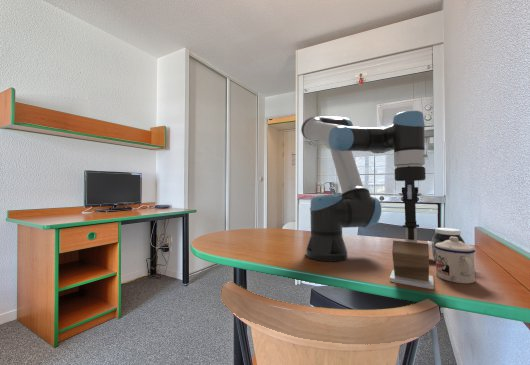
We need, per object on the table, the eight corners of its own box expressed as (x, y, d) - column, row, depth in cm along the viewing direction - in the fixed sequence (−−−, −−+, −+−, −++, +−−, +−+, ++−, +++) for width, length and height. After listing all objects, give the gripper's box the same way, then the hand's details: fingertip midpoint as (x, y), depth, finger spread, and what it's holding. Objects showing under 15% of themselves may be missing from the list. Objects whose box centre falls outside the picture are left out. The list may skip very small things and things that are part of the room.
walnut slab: (428, 281, 64) (429, 256, 59) (394, 275, 68) (392, 251, 64) (428, 268, 67) (428, 243, 62) (395, 264, 71) (393, 240, 66)
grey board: (389, 281, 67) (389, 277, 67) (392, 272, 74) (392, 269, 74) (433, 289, 61) (433, 285, 61) (432, 279, 68) (432, 275, 68)
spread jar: (470, 269, 77) (469, 232, 77) (430, 267, 79) (430, 231, 79) (450, 258, 89) (449, 226, 89) (415, 256, 91) (415, 225, 91)
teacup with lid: (429, 271, 74) (428, 233, 75) (463, 273, 73) (462, 234, 73) (451, 287, 63) (449, 242, 63) (492, 290, 61) (490, 243, 61)
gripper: (425, 164, 61) (428, 258, 61) (424, 167, 72) (426, 247, 72) (392, 165, 65) (394, 254, 65) (396, 169, 76) (397, 244, 76)
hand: (411, 250), depth 68 cm, fingers closed
